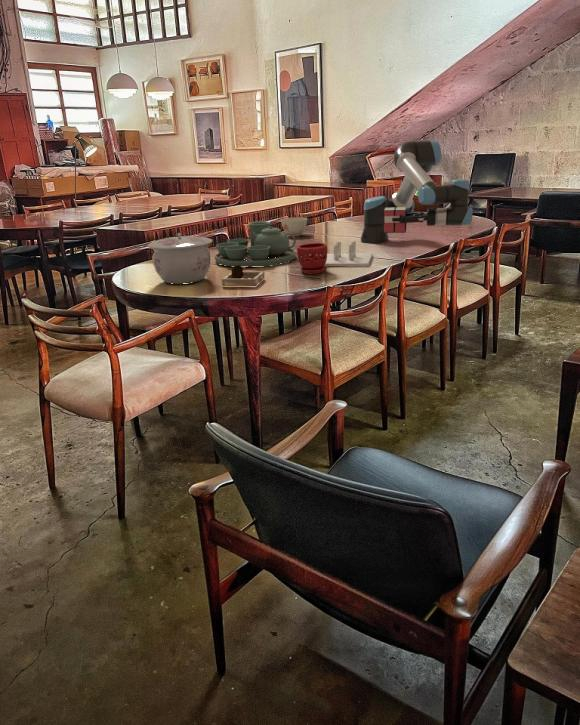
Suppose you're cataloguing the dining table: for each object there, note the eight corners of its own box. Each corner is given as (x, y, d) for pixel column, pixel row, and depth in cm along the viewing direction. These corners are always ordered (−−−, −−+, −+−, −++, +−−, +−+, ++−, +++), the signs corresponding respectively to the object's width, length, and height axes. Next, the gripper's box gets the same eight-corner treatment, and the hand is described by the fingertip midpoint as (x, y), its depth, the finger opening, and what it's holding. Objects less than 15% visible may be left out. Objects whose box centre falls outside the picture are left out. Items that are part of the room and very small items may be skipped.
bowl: (278, 235, 357) (277, 218, 354) (303, 233, 361) (302, 216, 358) (286, 239, 343) (285, 221, 339) (311, 236, 347) (310, 219, 344)
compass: (245, 285, 239) (243, 267, 236) (231, 283, 244) (230, 266, 241) (258, 281, 244) (257, 264, 242) (244, 279, 249) (243, 262, 247)
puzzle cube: (405, 232, 259) (406, 209, 256) (383, 233, 262) (383, 210, 258) (406, 229, 268) (406, 207, 265) (384, 229, 271) (384, 207, 267)
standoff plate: (324, 256, 288) (323, 239, 285) (372, 256, 282) (372, 238, 279) (315, 266, 266) (314, 248, 263) (367, 266, 261) (367, 247, 258)
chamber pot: (180, 292, 233) (173, 240, 226) (139, 284, 250) (132, 235, 243) (230, 278, 253) (226, 229, 245) (189, 271, 270) (184, 226, 262)
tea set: (206, 258, 299) (203, 226, 293) (279, 250, 312) (277, 218, 306) (228, 272, 264) (225, 236, 258) (309, 262, 278) (307, 227, 272)
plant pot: (322, 267, 263) (322, 241, 259) (331, 273, 251) (330, 245, 247) (294, 270, 260) (293, 243, 256) (302, 276, 248) (301, 248, 244)
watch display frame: (233, 279, 249) (232, 271, 248) (264, 279, 246) (264, 271, 245) (222, 287, 237) (221, 279, 235) (255, 287, 234) (254, 279, 232)
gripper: (435, 229, 250) (383, 230, 255) (435, 221, 270) (387, 222, 275) (436, 211, 247) (383, 212, 252) (436, 205, 268) (387, 206, 273)
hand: (385, 217), depth 264 cm, fingers closed on puzzle cube, 10 cm apart
